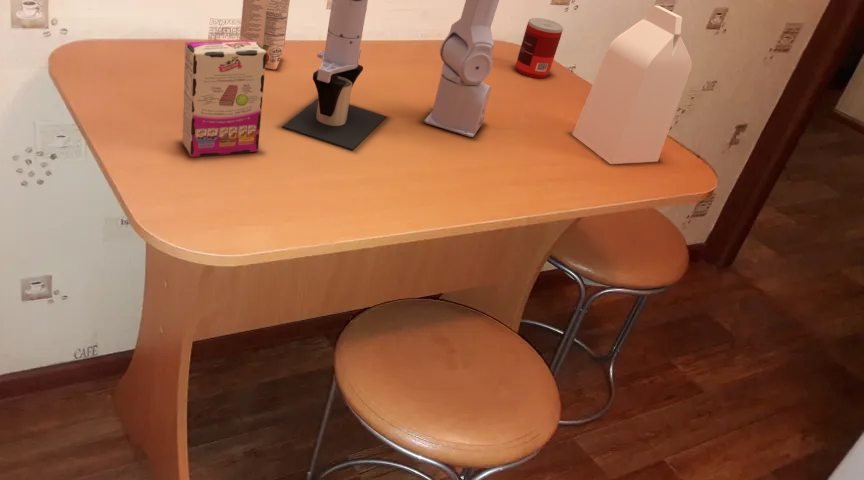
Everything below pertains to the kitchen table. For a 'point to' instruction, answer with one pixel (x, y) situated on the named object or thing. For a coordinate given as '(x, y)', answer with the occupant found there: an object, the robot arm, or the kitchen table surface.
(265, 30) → the juice carton
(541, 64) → the canned food
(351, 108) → the placemat
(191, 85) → the candy bar box
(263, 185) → the kitchen table surface
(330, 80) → the robot arm
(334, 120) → the cream cup
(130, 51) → the kitchen table surface
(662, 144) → the milk
